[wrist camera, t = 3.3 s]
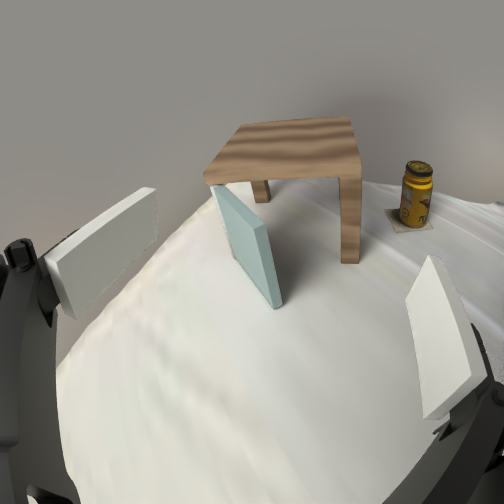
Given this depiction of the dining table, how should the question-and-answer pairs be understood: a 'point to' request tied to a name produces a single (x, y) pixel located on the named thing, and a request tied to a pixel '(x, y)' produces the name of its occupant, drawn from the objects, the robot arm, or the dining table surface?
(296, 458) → the dining table surface
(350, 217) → the step stool
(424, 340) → the robot arm
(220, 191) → the pale teal panel
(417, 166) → the condiment
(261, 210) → the dining table surface
